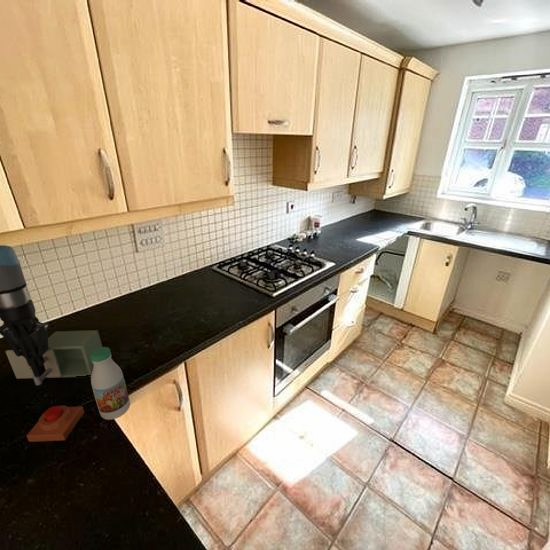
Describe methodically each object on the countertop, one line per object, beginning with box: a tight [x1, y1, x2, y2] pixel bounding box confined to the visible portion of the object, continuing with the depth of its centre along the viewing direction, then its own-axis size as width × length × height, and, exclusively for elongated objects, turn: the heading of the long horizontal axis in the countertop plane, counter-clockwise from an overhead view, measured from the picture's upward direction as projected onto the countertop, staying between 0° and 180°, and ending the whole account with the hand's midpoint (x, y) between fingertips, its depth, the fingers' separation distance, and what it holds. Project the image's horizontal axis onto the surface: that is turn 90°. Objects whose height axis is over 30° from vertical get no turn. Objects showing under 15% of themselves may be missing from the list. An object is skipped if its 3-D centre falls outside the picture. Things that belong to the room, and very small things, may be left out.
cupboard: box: [48, 329, 103, 379], centre depth 100 cm, size 14×9×12 cm, turn 92°
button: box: [43, 405, 62, 422], centre depth 79 cm, size 4×4×2 cm
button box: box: [26, 405, 85, 443], centre depth 80 cm, size 9×9×4 cm
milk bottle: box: [90, 346, 131, 421], centre depth 82 cm, size 8×8×20 cm
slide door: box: [5, 349, 63, 386], centre depth 92 cm, size 14×7×10 cm, turn 92°
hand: (40, 373), depth 89 cm, fingers closed
